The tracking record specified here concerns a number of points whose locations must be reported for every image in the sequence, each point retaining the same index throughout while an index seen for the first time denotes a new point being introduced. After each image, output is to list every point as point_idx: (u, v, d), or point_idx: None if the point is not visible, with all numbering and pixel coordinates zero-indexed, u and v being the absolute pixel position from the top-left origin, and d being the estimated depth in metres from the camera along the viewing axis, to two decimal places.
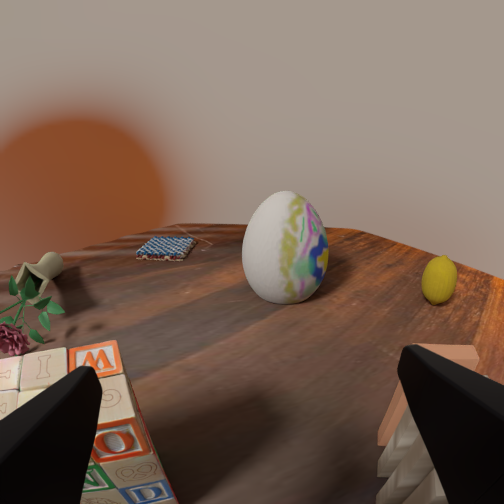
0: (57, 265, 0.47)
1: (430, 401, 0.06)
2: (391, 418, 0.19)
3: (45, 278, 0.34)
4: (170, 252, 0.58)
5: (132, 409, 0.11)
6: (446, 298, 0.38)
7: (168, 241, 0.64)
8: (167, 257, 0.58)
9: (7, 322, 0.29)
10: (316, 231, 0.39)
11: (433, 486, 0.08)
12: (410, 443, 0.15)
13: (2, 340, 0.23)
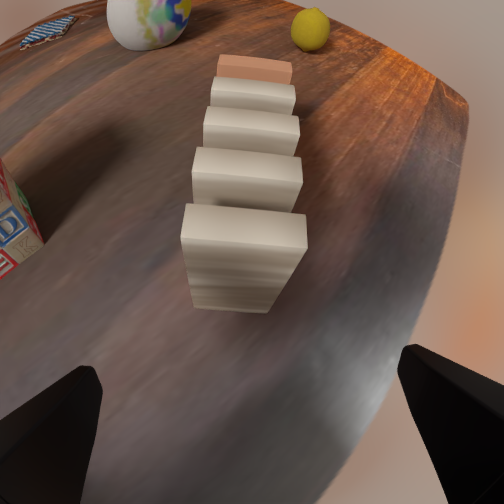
0: None
1: (430, 401, 0.06)
2: None
3: None
4: (50, 33, 0.37)
5: None
6: (316, 46, 0.36)
7: (50, 25, 0.39)
8: (47, 38, 0.37)
9: None
10: None
11: (194, 163, 0.14)
12: None
13: None
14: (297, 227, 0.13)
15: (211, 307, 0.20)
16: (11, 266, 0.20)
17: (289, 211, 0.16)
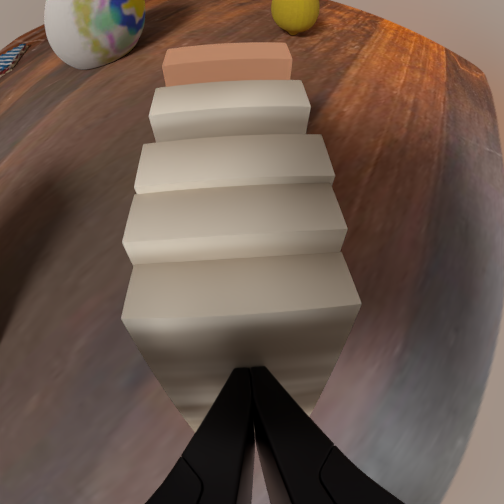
0: None
1: (258, 434, 0.06)
2: None
3: None
4: None
5: None
6: (306, 26, 0.28)
7: (0, 59, 0.33)
8: None
9: None
10: None
11: (129, 225, 0.07)
12: None
13: None
14: (333, 273, 0.07)
15: None
16: None
17: None
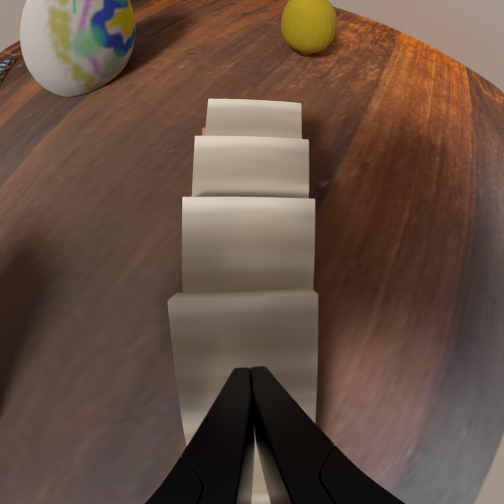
0: None
1: (258, 435, 0.06)
2: None
3: None
4: None
5: None
6: (321, 46, 0.25)
7: None
8: None
9: None
10: None
11: None
12: None
13: None
14: (301, 290, 0.11)
15: None
16: None
17: (311, 262, 0.12)
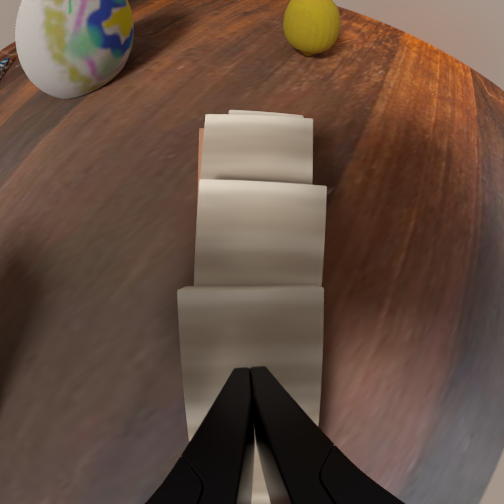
0: None
1: (258, 435, 0.06)
2: None
3: None
4: None
5: None
6: (325, 47, 0.24)
7: None
8: None
9: None
10: None
11: None
12: None
13: None
14: (307, 285, 0.11)
15: None
16: None
17: (321, 247, 0.12)
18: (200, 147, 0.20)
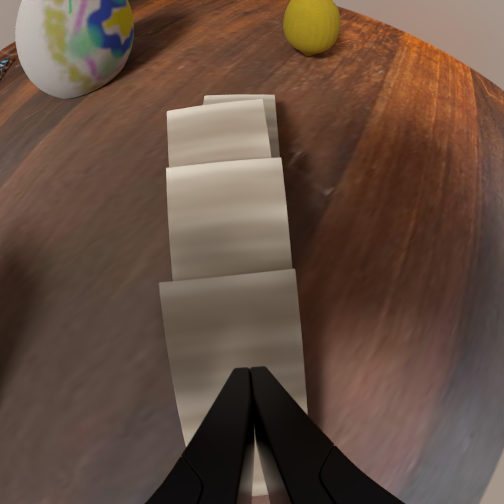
0: None
1: (258, 435, 0.06)
2: None
3: None
4: None
5: None
6: (325, 47, 0.24)
7: None
8: None
9: None
10: None
11: None
12: None
13: None
14: None
15: None
16: None
17: (284, 212, 0.13)
18: None
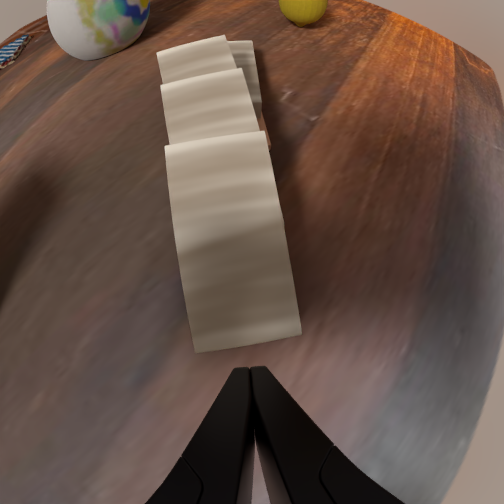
0: None
1: (258, 435, 0.06)
2: None
3: None
4: (1, 60, 0.30)
5: None
6: (314, 17, 0.26)
7: (3, 50, 0.32)
8: None
9: None
10: None
11: None
12: None
13: None
14: None
15: (218, 338, 0.14)
16: None
17: (249, 99, 0.16)
18: None
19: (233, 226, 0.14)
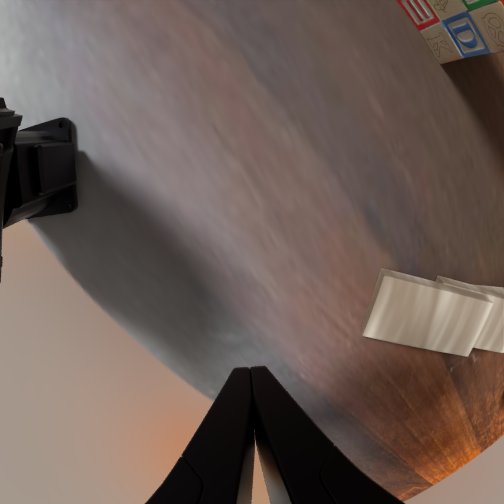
0: None
1: (258, 434, 0.06)
2: None
3: None
4: None
5: None
6: None
7: None
8: None
9: None
10: None
11: None
12: None
13: None
14: None
15: (385, 292, 0.20)
16: (416, 22, 0.15)
17: (487, 349, 0.21)
18: None
19: (435, 324, 0.20)
